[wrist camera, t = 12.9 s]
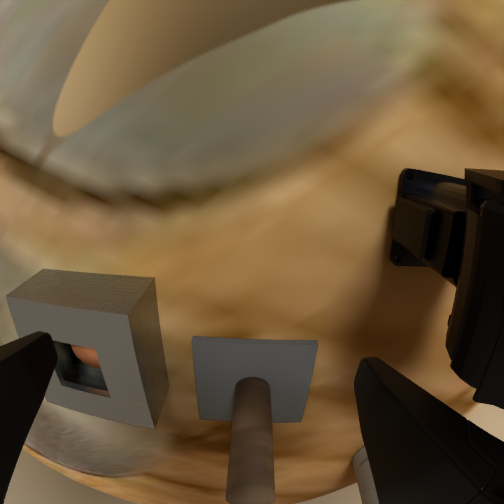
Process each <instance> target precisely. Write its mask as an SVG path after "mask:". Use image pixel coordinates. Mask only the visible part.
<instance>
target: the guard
mask: <svg viewBox="0 0 504 504" xmlns="http://www.w3.org/2000/svg"><path fill="white" fill-rule="evenodd" d="M6 299H7V303H8V306H9V309H10V312H11V316H12V319H13V322H14V325H15V328H16V330H17V333H18V336H19V338H22V337H24V336H27V335H29V334H32V333H34V332H37V331H43V332H47V333H49V334H50V335H51V337H52V340H53V343H54V346H55V348H56V351H57V354H58V361H57V364H56V367H55V369H54V372H53V374H52V377H51V380H50V382H49V385H48V388H47V391H46V394H45V398H46V400H47V402H50V403H53V404H56V405H59V406H62V407H65V408H68V409H71V410H75V411H78V412H81V413H85V414H88V415H92V416H96V417H100V418H104V419H108V420H112V421H116V422H121V423H125V424H130V425H135V426H140V427H145V428H151V429H155V427H156V424H157V421H158V418H159V415H160V411H161V408H162V405H163V402H164V399H165V396H166V393H167V390H168V387H169V383H168V377H167V372H166V366H165V359H164V353H163V346H162V339H161V332H160V325H159V317H158V308H157V299H156V290H155V279H154V278H150V277H135V276H121V275H108V274H95V273H83V272H71V271H60V270H49V269H42V270H41V271H39V272H38V273H37V274H35V275H34V276H32V277H31V278H29V279H28V280H27V281H25V282H24V283H22V284H21V285H20V286H18V287H17V288H16V289H14V290H13V291H12V292H10V293H9V294H7V295H6ZM69 344H72V345H77V346H82V347H87V348H92V349H95V351H96V354H97V358H98V361H99V364H100V367H101V368H94V367H91V366H88V365H85V364H80V363H76V362H75V360H74V358H73V355H72V352H71V349H70V345H69Z"/></svg>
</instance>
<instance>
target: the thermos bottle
mask: <svg viewBox="0 0 504 504" xmlns="http://www.w3.org/2000/svg"><path fill="white" fill-rule="evenodd" d="M353 467H354V471H355V475H356V479H357V483H358V486H359V491H360V495H361V499H362V503H363V504H379V501H378V497H377V493H376V488H375V484H374V480H373V476H372V472H371V468H370V464H369V461H368V457H367V453H366V449H365V446H364V447H363V448H361V449H360V450H359V451H358V452H357V453H356V454H355V456H354V458H353Z"/></svg>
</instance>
